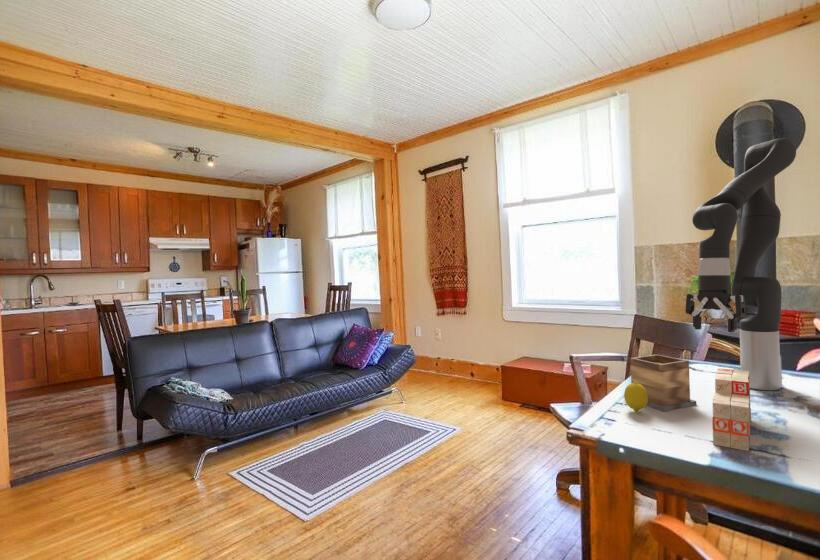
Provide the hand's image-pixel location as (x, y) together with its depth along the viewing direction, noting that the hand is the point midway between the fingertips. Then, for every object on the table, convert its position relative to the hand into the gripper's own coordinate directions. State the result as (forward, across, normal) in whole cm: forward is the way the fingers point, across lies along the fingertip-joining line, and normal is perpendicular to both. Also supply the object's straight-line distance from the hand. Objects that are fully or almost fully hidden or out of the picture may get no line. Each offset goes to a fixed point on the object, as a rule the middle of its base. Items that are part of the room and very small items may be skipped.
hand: (714, 330), depth 120 cm
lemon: (+21, +5, +28) cm, 35 cm away
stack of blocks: (+21, -15, +24) cm, 35 cm away
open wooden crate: (+20, +6, +16) cm, 26 cm away
